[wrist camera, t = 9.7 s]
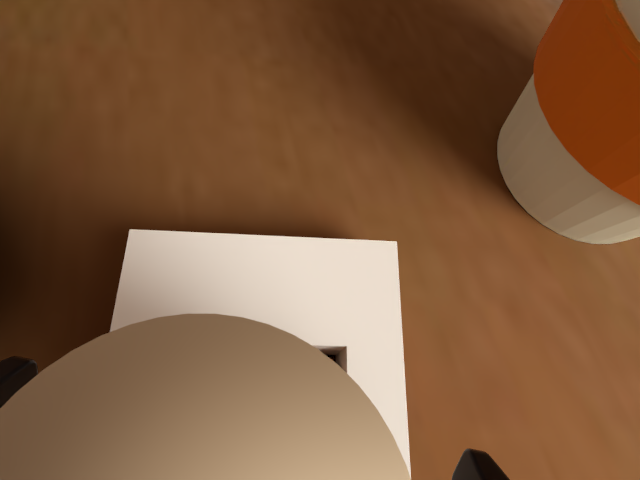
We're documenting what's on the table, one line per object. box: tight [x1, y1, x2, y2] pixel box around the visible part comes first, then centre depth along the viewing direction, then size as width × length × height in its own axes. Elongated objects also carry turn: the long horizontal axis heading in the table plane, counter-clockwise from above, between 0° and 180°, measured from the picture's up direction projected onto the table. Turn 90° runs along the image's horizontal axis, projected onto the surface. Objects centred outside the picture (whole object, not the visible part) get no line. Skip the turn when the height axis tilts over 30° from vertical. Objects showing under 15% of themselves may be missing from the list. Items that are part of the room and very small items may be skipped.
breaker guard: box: [110, 229, 411, 478], centre depth 14 cm, size 14×10×3 cm
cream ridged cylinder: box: [0, 314, 411, 480], centre depth 9 cm, size 4×4×12 cm
